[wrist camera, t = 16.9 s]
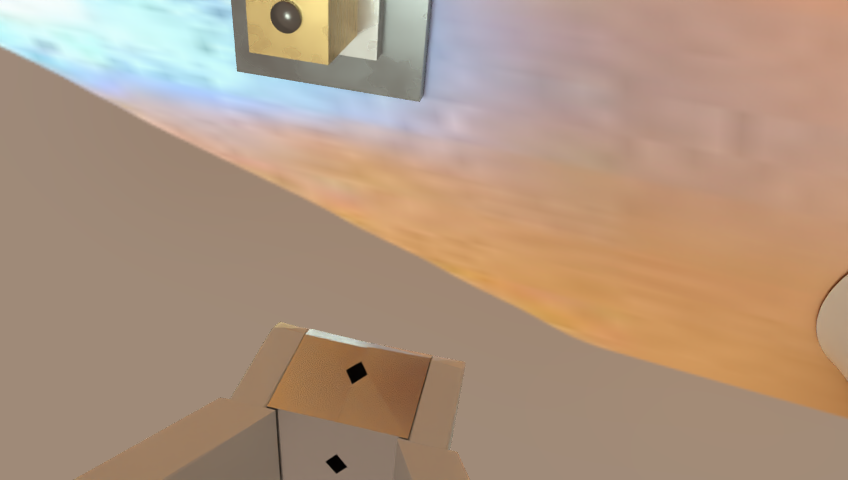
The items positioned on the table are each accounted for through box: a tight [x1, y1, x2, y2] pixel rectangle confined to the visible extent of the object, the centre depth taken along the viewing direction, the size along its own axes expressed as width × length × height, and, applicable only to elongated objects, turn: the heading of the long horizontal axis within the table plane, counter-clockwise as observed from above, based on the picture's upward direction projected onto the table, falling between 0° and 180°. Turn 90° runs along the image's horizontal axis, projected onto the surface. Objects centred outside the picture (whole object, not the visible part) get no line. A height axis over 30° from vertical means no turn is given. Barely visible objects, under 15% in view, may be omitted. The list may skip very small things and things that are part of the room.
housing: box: [246, 0, 358, 65], centre depth 39 cm, size 5×5×6 cm
